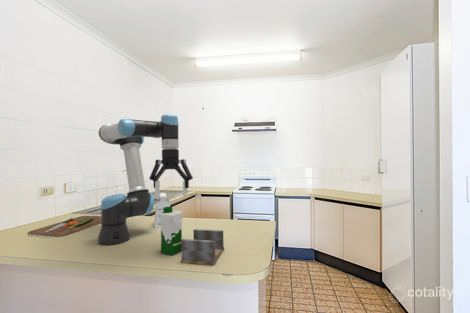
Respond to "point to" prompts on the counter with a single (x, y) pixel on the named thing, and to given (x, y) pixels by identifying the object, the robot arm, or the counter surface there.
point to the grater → (160, 208)
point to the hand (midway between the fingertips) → (171, 195)
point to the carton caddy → (203, 247)
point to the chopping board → (66, 227)
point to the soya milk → (171, 231)
